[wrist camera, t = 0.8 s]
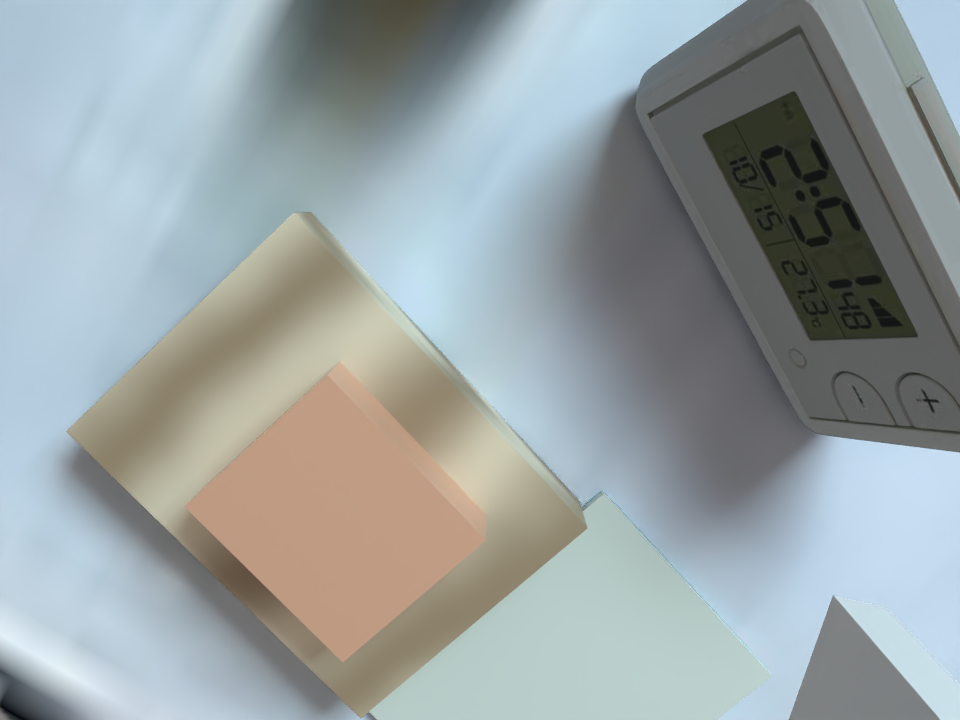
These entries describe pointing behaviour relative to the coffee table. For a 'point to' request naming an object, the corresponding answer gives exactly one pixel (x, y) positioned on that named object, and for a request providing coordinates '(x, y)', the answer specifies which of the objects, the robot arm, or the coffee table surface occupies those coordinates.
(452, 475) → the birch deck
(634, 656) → the sage mat
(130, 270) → the coffee table surface
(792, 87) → the digital clock
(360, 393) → the terracotta tile
